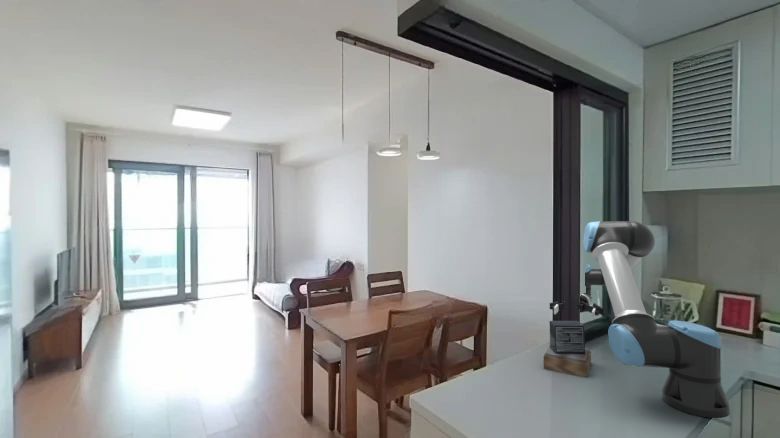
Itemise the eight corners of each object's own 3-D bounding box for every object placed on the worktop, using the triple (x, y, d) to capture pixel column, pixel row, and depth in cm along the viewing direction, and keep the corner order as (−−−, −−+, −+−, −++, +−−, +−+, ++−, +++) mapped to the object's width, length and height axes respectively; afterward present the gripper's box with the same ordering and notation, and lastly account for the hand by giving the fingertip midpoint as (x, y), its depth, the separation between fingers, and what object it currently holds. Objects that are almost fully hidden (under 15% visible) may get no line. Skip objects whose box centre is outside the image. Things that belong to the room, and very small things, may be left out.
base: (591, 363, 137) (590, 348, 137) (587, 377, 125) (587, 361, 125) (550, 355, 145) (550, 341, 145) (543, 368, 133) (543, 353, 133)
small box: (578, 347, 138) (578, 320, 138) (585, 354, 131) (585, 325, 131) (549, 347, 139) (548, 319, 139) (555, 353, 132) (554, 324, 132)
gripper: (612, 314, 155) (610, 327, 137) (549, 307, 169) (540, 318, 151) (612, 296, 155) (610, 307, 137) (549, 291, 169) (539, 300, 151)
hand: (573, 313), depth 144 cm, fingers open, 13 cm apart
